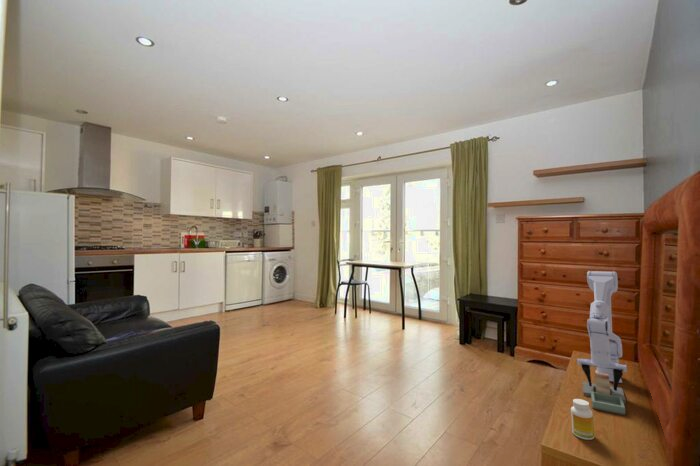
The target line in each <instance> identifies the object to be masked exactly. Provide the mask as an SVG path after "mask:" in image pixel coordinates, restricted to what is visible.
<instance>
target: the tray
mask: <svg viewBox="0 0 700 466" xmlns="http://www.w3.org/2000/svg"><path fill="white" fill-rule="evenodd" d="M590 399H591V407H592V409H594V410H597V411H602V412H607V413H612V414H615V415H616V414H617V415H621V416H626V407H625V403H623V400H622V397H620V396H614V395H612V394H610V395H609V394H603V393H598V392H596V391H594V392H592V391H591V397H590Z"/></svg>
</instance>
